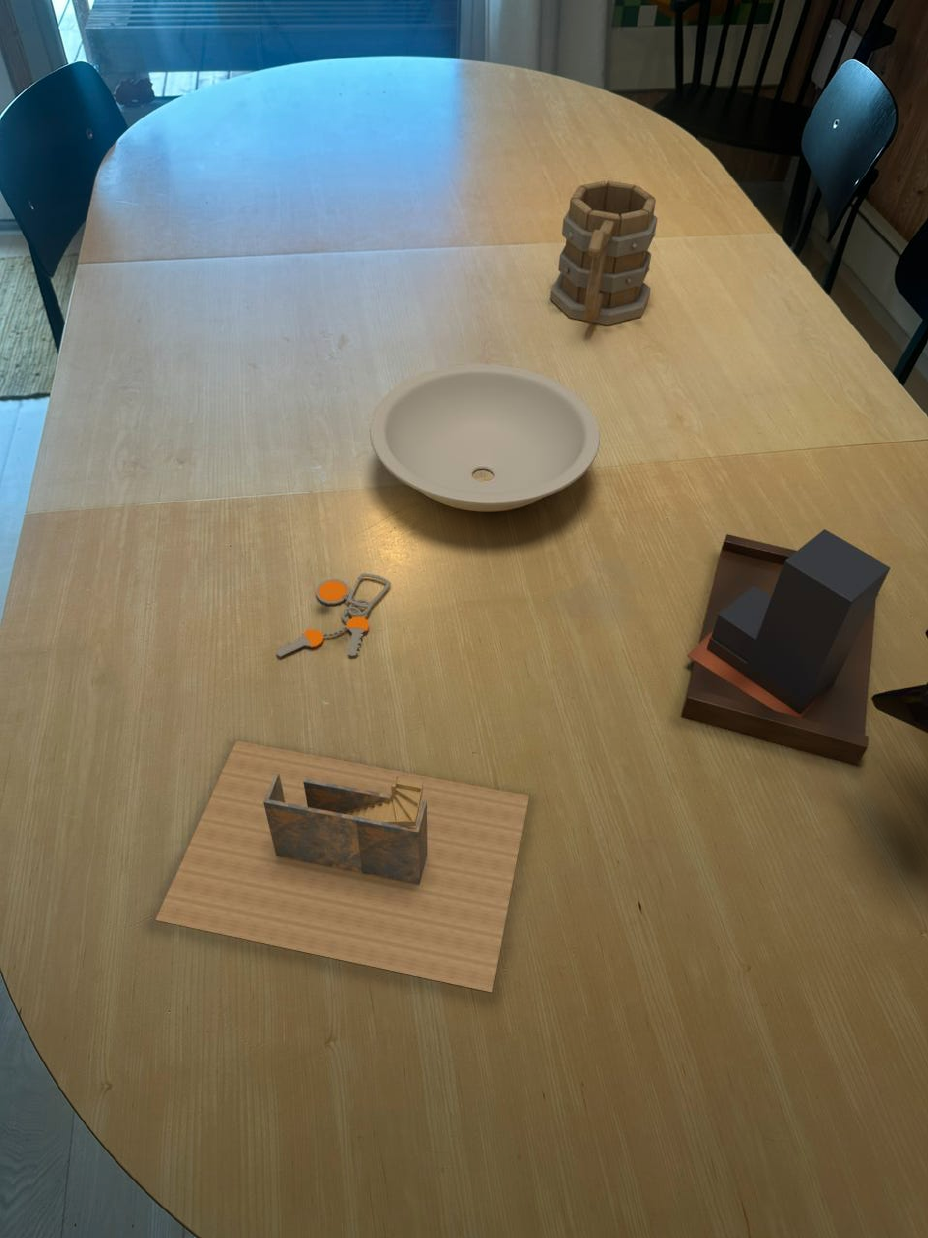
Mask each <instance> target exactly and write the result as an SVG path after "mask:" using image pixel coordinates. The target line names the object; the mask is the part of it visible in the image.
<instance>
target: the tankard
mask: <svg viewBox="0 0 928 1238" xmlns="http://www.w3.org/2000/svg"><path fill="white" fill-rule="evenodd" d="M656 202H657V199H656V197H654V196H653V195H652V194H650V193H649V192H647V191H646V190H645V189H644V188H642V187H641V186H639V185H636V184H634V183H627V182H621V181H615V180H609V179H608V180H607V181H606V179H605V180H600V181H595V182H589V183H584V184H581V185H579V186H578V187H577V188H576V190H575V191H574V193H573V194H572V197H570V201H569V209H568V210H567V212H566V214H565V215H564V217H563V220H562V231H561V236H563V237H564V239H566V240H565V245H564V247H563V248H562V251H561V252H560V254H559V259H558V271H559V272H560V273H559V275H558V276H557V278H556V280H555V282H554V284H553V285H552V287H551V289H550V295H549V296H550V297H549V299H550V300H551V301H552V302H553V303H554V304H555V305H556V306H557V307H558V308H559V309H560V310H561V311H562V312H563V313H564V314H566V316H567V317H569V318H570V319H572V320H577V321H583V322H586V323H592V324H599V325H603V326H610V325H615V324H619V323H622V322H627V321H630V320H634V319H639V318H642V316H643V313H644V311H645V309H646V306H647V304H648V301H649V299H650V296H651V295H650V294H651V289H652V288H651V287H649V286H648V285H647V283H645V282H644V281H645V279H646V278H647V275H648V272H649V271H650V264H651V259H652V252H650V251H649V248H650V246H651V243H652V241H653V239H654V237H656V229H657V225H658V216H656V215H655V208H656Z"/></svg>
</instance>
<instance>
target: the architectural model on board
mask: <svg viewBox="0 0 928 1238" xmlns="http://www.w3.org/2000/svg"><path fill="white" fill-rule="evenodd" d="M529 798H530V795H527V794H522V793H521V794H520V793H516V792H511V791H506V790H501V789H496V788H490V787H485V786H481V785H480V786H479V785H475V784H469V783H463V782H459V781H453V780H447V779H443V778H437V777H433V776H426V775H422V774H416V773H411V772H405V771H400V770H396V769H391V768H390V769H389V768H384V767H381V766H380V767H379V766H375V765H369V764H363V763H358V762H353V761H347V760H342V759H337V758H332V757H326V756H323V755H322V756H321V755H316V754H311V753H305V752H300V751H295V750H289V749H284V748H279V747H274V746H269V745H264V744H263V745H262V744H259V743H254V742H253V743H252V742H247V741H242V740H235V742H234V744H233V747H232V748H231V751H230V753H229V755H228V758H227V759H226V762H225V764H224V767H223V769H222V771H221V773H220V776H219V778H218V779H217V782H216V784H215V787H214V789H213V791H212V793H211V796H210V797H209V801H208V802H207V804H206V807H205V809H204V811H203V813H202V815H201V818H200V819H199V822H198V823H197V827H196V828H195V831H194V833H193V836H192V838H191V840H190V842H189V845H188V847H187V848H186V851H185V853H184V856H183V858H182V860H181V863H180V864H179V867H178V869H177V871H176V873H175V876H174V878H173V880H172V882H171V885H170V886H169V889H168V891H167V893H166V895H165V898H164V900H163V902H162V903H161V906H160V909H159V911H158V912H157V915H156V918H155V921H159V922H164V923H167V924H172V925H176V926H177V925H178V926H182V927H185V928H186V927H187V928H190V929H196V930H200V931H204V932H209V933H214V934H217V935H218V934H219V935H224V936H227V937H233V938H237V939H242V940H247V941H250V942H251V941H252V942H256V943H261V944H266V945H271V946H275V947H278V948H279V947H280V948H284V949H288V950H293V951H296V952H297V951H298V952H303V953H306V954H312V955H317V956H321V957H326V958H330V959H333V960H340V961H344V962H348V963H353V964H357V965H363V966H367V967H372V968H377V969H381V970H386V971H390V972H395V973H400V974H405V975H410V976H413V977H419V978H423V979H428V980H432V981H437V982H441V983H446V984H451V985H455V986H461V987H463V988H464V987H465V988H470V989H473V990H474V989H475V990H479V991H483V992H484V991H485V992H487V993H493V991H494V990H493V989H494V984H495V980H496V979H495V978H496V973H497V969H498V962H499V958H500V952H501V947H502V941H503V936H504V931H505V925H506V920H507V917H508V910H509V904H510V899H511V895H512V889H513V884H514V878H515V873H516V867H517V862H518V857H519V851H520V847H521V842H522V836H523V830H524V825H525V819H526V814H527V809H528V803H529Z"/></svg>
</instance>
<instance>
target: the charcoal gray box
mask: <svg viewBox="0 0 928 1238" xmlns="http://www.w3.org/2000/svg"><path fill="white" fill-rule="evenodd" d="M890 570H891V567H890V566H889V565H887V564H885V563H884V562H882V561H880V560H878V559H877V558H875V557H874V556H872V555H870V554H868V553H867V552H864V550H861V549H860V548H858V547H857V546H854V545H853V544H852V543H850V542H848V541H846V540H844V539H843V538H841V537H840V536H838V535H836V534H834V533H833V532H831V531H829V530H828V529H825V528H824V529H822V530H821V531H820V532H819V533H817V534H816V535H815V536H814V537H812V538H811V539H810V540H809V541H808V542H806V543H805V544H803V546H801V547H800V548H799V549H798V550H796V552H795V553H794V554H793V555H791V556H790V557H789V558H788V559H787V560H785V562H784V565H783V568H782V570H781V573H780V576H779V578H778V581H777V584H776V586H775V589H774V592H773V594H772V597H770V596H768V595H767V594H765V593H763V592H762V591H760V590H759V589H757V588H756V587H754V586H753V587H752V588H750V589H749V590H748V591H747V592H745V593H744V594H743V595H742V596H740V597H739V598H738V599H737V600H735V601H734V602H733V603H732V604H730V605H729V606H728V607H727V608H725V609H724V610H723V611H722V612H721V613H719V614H718V617H717V620H716V623H715V627H714V630H713V633H712V636H711V638H710V640H709V643H708V646H707V649H708V650H709V651H710V652H712V653H713V654H715V655H716V656H718V657H719V658H720V659H722V660H723V661H725V662H726V663H728V664H729V665H730V666H732V667H733V668H735V669H736V670H737V671H739V672H740V673H742V674H743V675H745V676H746V677H747V678H749V679H750V680H752V681H753V682H755V683H756V684H757V685H759V686H760V687H762V688H763V689H764V690H766V691H767V692H769V693H770V694H772V695H773V696H774V697H776V698H777V699H779V700H780V701H782V702H783V703H784V704H786V705H787V706H789V707H790V708H791V709H793V710H794V711H796V712H797V713H799V714H801V713H802V712H803V711H804V710H805V709H806V708H807V707H808V706H810V705H811V704H812V703H813V702H814V701H815V700H816V699H817V698H818V697H819V696H820V695H821V694H822V693H823V692H824V691H825V690H826V689H827V688H829V687H830V686H831V685H832V684H833V683H834V682H835V681H836V679H837V677H838V675H839V673H840V670H841V669H842V667H843V665H844V663H845V661H846V658H847V656H848V654H849V652H850V650H851V648H852V646H853V644H854V642H855V640H856V638H857V636H858V634H859V632H860V630H861V628H862V626H863V624H864V622H865V619H866V617H867V615H868V613H869V611H870V609H871V607H872V605H873V603H874V601H875V599H876V598H877V597H878V595H879V593H880V591H881V589H882V587H883V585H884V582H885V580H886V578H887V576H888V575H889V572H890ZM876 600H877V599H876ZM875 602H876V601H875Z"/></svg>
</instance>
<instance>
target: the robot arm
mask: <svg viewBox="0 0 928 1238" xmlns="http://www.w3.org/2000/svg"><path fill="white" fill-rule="evenodd" d="M924 634H925V637H926V638H927V639H928V628H927V629H926V630H925V633H924ZM870 700H871V702H872V704H873V706H874V708H875V709H876V710H877V711H880V712H882V713H884V714H886V715H888V716H890V717H892V718H894V719H897V720H898V721H901V722H903V723H904V724H907V725H909V726H911V727H914V728H916V729H917V730H920V731H922V732H923V733H926V734H927V735H928V681H927V682H926V683H925V684H919V685H914V686H910V687H903V688H898V689H891V690H887V691H883V692H879V693H875V694H873V695H872V696H871V698H870Z"/></svg>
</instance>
